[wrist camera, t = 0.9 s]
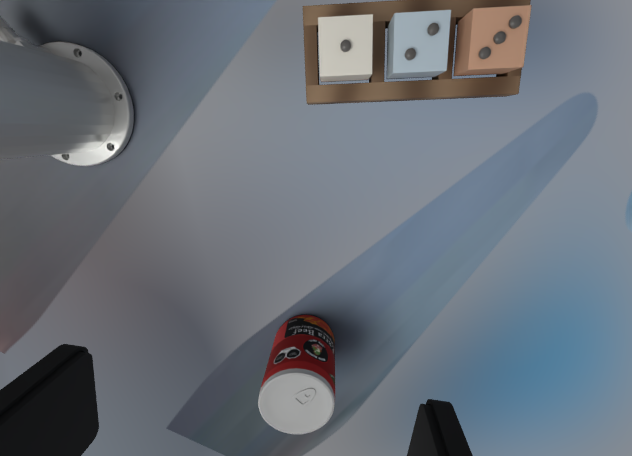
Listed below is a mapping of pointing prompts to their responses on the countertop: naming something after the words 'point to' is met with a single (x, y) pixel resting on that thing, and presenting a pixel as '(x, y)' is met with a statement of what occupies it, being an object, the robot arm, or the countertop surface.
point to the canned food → (299, 377)
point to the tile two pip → (418, 44)
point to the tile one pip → (345, 47)
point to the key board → (377, 89)
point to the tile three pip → (491, 40)
